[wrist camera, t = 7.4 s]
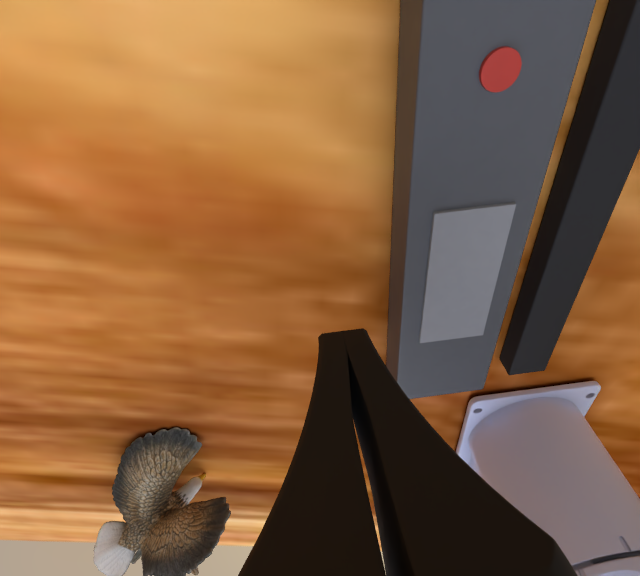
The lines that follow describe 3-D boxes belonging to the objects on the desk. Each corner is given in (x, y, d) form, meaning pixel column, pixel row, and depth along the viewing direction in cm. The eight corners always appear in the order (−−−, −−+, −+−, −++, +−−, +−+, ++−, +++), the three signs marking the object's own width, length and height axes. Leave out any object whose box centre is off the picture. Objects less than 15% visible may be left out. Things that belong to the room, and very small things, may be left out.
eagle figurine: (235, 517, 30) (264, 482, 23) (162, 627, 25) (172, 620, 18) (155, 452, 31) (161, 401, 24) (68, 545, 26) (47, 512, 19)
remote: (467, 356, 22) (484, 392, 21) (385, 367, 22) (396, 403, 21) (558, -40, 12) (612, -38, 10) (401, -23, 11) (425, -18, 10)
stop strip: (533, 354, 23) (545, 371, 22) (498, 358, 23) (508, 375, 22) (699, -75, 11) (737, -77, 10) (629, -68, 11) (661, -69, 10)
